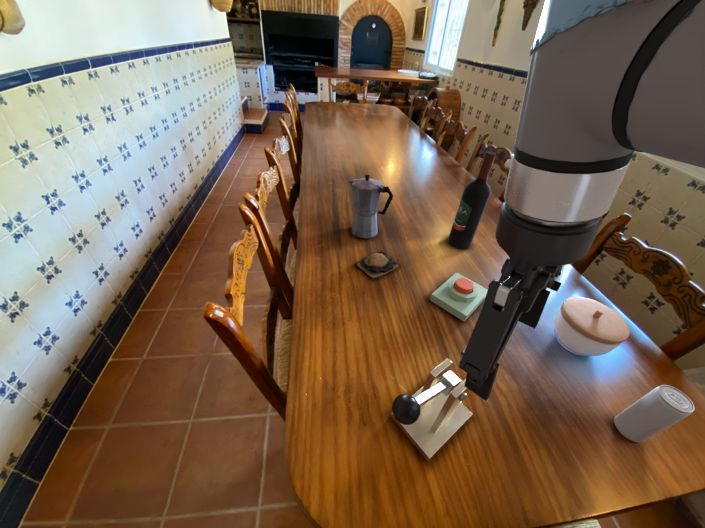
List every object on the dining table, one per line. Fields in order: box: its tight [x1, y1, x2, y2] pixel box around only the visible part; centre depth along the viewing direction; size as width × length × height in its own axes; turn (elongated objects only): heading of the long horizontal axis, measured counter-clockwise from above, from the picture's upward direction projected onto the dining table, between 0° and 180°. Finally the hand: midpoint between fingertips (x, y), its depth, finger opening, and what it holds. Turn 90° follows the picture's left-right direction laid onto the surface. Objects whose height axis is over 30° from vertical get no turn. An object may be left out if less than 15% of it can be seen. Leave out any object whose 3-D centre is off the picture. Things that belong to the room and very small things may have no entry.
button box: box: [429, 272, 488, 323], centre depth 78 cm, size 13×10×4 cm
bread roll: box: [356, 250, 399, 280], centre depth 86 cm, size 11×8×4 cm
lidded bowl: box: [552, 296, 631, 357], centre depth 66 cm, size 13×13×11 cm
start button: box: [454, 277, 474, 294], centre depth 76 cm, size 4×4×2 cm
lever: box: [391, 369, 462, 425], centre depth 42 cm, size 15×4×4 cm, turn 129°
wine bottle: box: [447, 150, 497, 250], centre depth 90 cm, size 8×8×30 cm
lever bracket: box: [390, 357, 473, 462], centre depth 50 cm, size 12×9×14 cm
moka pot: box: [348, 174, 394, 239], centre depth 94 cm, size 10×15×20 cm, turn 64°
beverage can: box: [613, 384, 696, 443], centre depth 51 cm, size 5×5×12 cm
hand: (503, 354), depth 38 cm, fingers open, 13 cm apart
